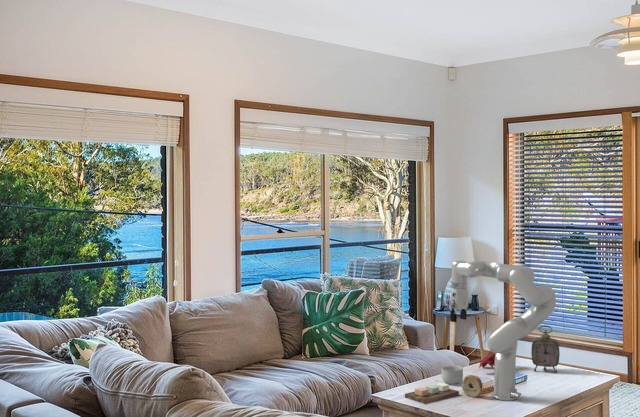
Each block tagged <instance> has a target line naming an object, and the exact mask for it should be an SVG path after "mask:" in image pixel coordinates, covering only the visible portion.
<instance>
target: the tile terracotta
mask: <svg viewBox="0 0 640 417" xmlns="http://www.w3.org/2000/svg"><path fill="white" fill-rule="evenodd" d="M414 391H415V394H416V395H419V396H425V395H428V389H426V387H422V386H421V387H417V388H414Z"/></svg>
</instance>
